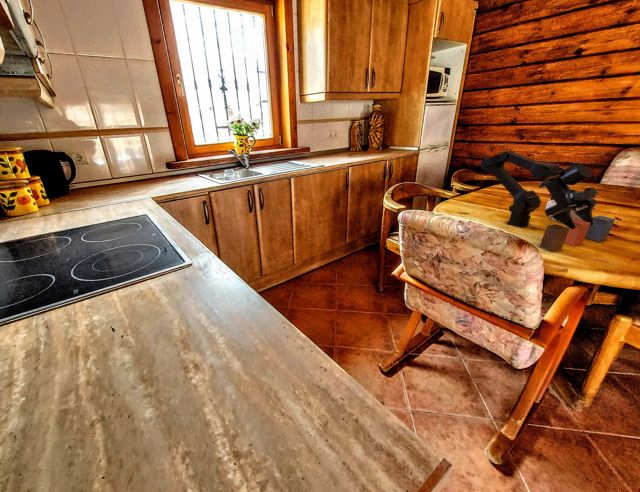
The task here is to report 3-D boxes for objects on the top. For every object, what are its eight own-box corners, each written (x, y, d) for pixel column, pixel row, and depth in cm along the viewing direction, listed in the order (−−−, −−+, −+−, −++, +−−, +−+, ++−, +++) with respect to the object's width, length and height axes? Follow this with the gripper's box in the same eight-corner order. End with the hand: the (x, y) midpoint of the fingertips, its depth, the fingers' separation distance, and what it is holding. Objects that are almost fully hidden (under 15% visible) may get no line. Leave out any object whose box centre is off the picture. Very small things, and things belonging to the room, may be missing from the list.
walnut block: (539, 246, 108) (546, 225, 104) (548, 245, 108) (556, 224, 105) (551, 252, 104) (560, 230, 100) (561, 250, 104) (569, 228, 101)
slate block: (583, 237, 113) (592, 216, 109) (591, 235, 114) (600, 215, 110) (597, 241, 109) (607, 220, 105) (605, 240, 110) (615, 219, 106)
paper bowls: (551, 224, 126) (557, 207, 123) (537, 213, 139) (542, 197, 136) (594, 227, 121) (602, 210, 118) (575, 215, 134) (582, 199, 131)
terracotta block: (560, 241, 111) (568, 220, 107) (568, 239, 112) (576, 218, 108) (573, 246, 107) (582, 224, 103) (582, 244, 108) (590, 222, 104)
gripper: (564, 183, 101) (589, 221, 95) (600, 177, 105) (627, 214, 99) (534, 198, 111) (556, 233, 106) (569, 192, 115) (591, 226, 110)
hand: (583, 227), depth 105 cm, fingers open, 9 cm apart
